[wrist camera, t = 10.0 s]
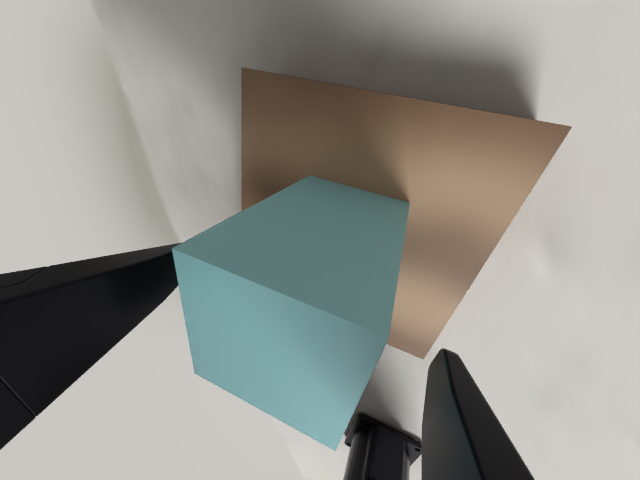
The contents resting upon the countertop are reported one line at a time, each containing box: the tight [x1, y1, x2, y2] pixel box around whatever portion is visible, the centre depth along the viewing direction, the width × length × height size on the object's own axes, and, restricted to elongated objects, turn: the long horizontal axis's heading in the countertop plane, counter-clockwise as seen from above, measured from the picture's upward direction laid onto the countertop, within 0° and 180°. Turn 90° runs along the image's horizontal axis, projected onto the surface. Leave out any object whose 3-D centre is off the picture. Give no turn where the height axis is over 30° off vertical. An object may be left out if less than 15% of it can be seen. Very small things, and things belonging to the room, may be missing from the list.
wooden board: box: [242, 68, 572, 359], centre depth 14 cm, size 13×13×3 cm
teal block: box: [172, 175, 410, 451], centre depth 10 cm, size 5×5×8 cm
